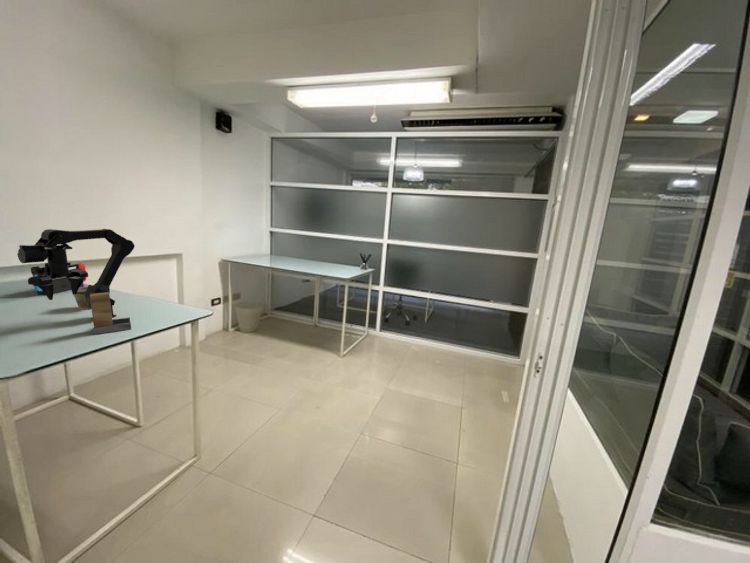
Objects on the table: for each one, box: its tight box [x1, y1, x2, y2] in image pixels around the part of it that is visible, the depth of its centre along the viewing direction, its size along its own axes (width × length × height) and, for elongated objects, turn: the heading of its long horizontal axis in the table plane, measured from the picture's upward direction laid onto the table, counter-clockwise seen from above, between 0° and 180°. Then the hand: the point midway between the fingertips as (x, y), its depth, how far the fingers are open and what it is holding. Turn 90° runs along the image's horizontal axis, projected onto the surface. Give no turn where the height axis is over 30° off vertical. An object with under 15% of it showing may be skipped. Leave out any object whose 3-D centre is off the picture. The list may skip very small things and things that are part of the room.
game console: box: [31, 262, 88, 295], centre depth 179 cm, size 28×6×15 cm, turn 177°
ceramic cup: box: [73, 286, 92, 311], centre depth 154 cm, size 13×10×10 cm
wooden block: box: [90, 292, 113, 328], centre depth 130 cm, size 4×6×15 cm, turn 131°
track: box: [93, 316, 132, 335], centre depth 134 cm, size 12×8×3 cm
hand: (62, 297), depth 130 cm, fingers open, 9 cm apart
